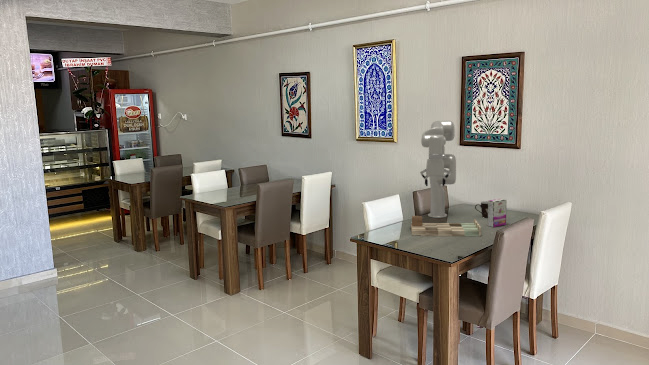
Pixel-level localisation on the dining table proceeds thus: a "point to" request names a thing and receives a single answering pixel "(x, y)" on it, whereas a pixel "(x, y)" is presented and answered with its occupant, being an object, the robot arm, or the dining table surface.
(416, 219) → the walnut block
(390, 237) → the dining table surface
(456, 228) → the trap deck
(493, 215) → the candy bar box
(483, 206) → the coffee mug
